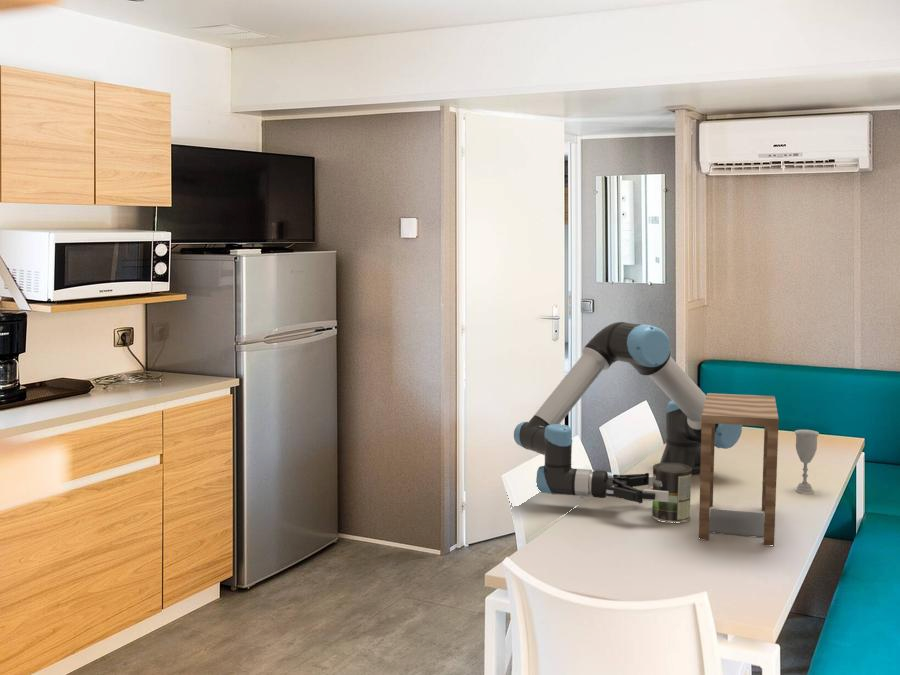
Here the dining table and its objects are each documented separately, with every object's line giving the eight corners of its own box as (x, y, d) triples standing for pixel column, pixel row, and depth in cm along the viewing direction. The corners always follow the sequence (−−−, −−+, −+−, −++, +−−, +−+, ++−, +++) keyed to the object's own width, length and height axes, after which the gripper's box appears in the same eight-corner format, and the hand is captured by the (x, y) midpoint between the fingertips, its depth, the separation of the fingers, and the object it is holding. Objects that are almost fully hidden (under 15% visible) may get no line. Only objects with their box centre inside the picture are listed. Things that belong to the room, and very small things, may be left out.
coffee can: (658, 524, 242) (659, 472, 240) (646, 512, 252) (647, 462, 250) (696, 523, 242) (697, 471, 241) (683, 511, 253) (684, 461, 251)
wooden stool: (704, 503, 260) (707, 393, 256) (770, 508, 254) (774, 396, 251) (698, 539, 230) (701, 414, 226) (774, 546, 224) (778, 419, 220)
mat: (710, 510, 253) (710, 508, 253) (763, 514, 249) (763, 513, 249) (707, 532, 235) (707, 531, 235) (765, 537, 230) (765, 536, 230)
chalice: (818, 495, 267) (821, 435, 265) (794, 494, 268) (796, 434, 266) (814, 488, 274) (816, 430, 272) (790, 487, 275) (792, 429, 273)
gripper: (599, 484, 265) (674, 490, 258) (584, 509, 241) (666, 516, 235) (599, 459, 264) (674, 464, 257) (584, 482, 240) (666, 488, 234)
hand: (670, 489), depth 246 cm, fingers open, 13 cm apart
